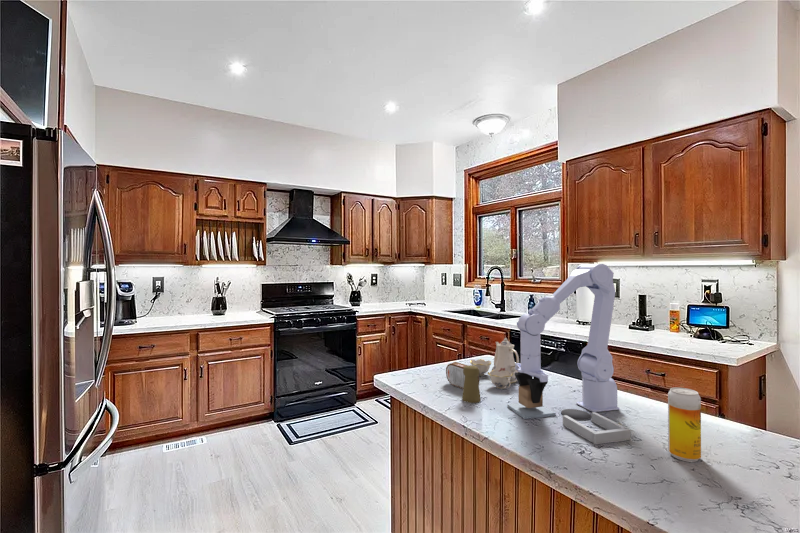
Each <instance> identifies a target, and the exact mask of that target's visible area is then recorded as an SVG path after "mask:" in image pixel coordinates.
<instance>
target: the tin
mask: <svg viewBox="0 0 800 533" xmlns="http://www.w3.org/2000/svg"><path fill="white" fill-rule="evenodd" d="M465 366H469V365H467V364H464V363H461V362H457V361H454V362H452V363H448V364H447V366H446V368H445V374H446V379H447V381H448V383H449V384H450V385H452V386H453V387H456V388H459V389H462V390H463V388H464V380H465V375H464V373H463V369H464V367H465ZM478 383H479V384H480V377H479V376H478Z"/></svg>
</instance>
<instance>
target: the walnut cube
mask: <svg viewBox="0 0 800 533" xmlns="http://www.w3.org/2000/svg"><path fill="white" fill-rule="evenodd" d="M543 393H544V391H543V392H542V395H541V399H540V403H532V399H531V390H530V386H529V385H526V386H519V385H518V394H517V395H518V403H520V404H522V405H523V406H525V407H527V408H534V407H543V406H544V405H543V403H544V402H543V400H544V399H543V395H544V394H543Z"/></svg>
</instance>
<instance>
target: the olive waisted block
mask: <svg viewBox="0 0 800 533" xmlns="http://www.w3.org/2000/svg"><path fill="white" fill-rule="evenodd" d="M463 373H464V375H465V380H464V388H463V389H462V397H461V400H462V401H463V402H465V403H469V404H477V403H480V402H481V401H482V399H481V392H480V382H479V383H478V375H479V369H478V367H476V366H472V365H471V364H470V365H468V366H465V367H464V369H463Z"/></svg>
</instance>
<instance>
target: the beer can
mask: <svg viewBox="0 0 800 533" xmlns="http://www.w3.org/2000/svg"><path fill="white" fill-rule="evenodd" d="M701 404H702V398H701V396H700V395H699V392H698V391H696V390H694V389H691V388H685V387H676V386H675V387H670V389H669V390H668V393H667V420H668V421H667V423H668V424H667V427H668V428H667V435H668V437H667V441H668V444H667V448H668V449H667V451H668V452H669V453H670V455H671V457H673V458H675V459H677V460H680V461H684V462H687V463H689V462H690V463H695V462H698V461H699V459H701V458H702V405H701Z"/></svg>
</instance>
